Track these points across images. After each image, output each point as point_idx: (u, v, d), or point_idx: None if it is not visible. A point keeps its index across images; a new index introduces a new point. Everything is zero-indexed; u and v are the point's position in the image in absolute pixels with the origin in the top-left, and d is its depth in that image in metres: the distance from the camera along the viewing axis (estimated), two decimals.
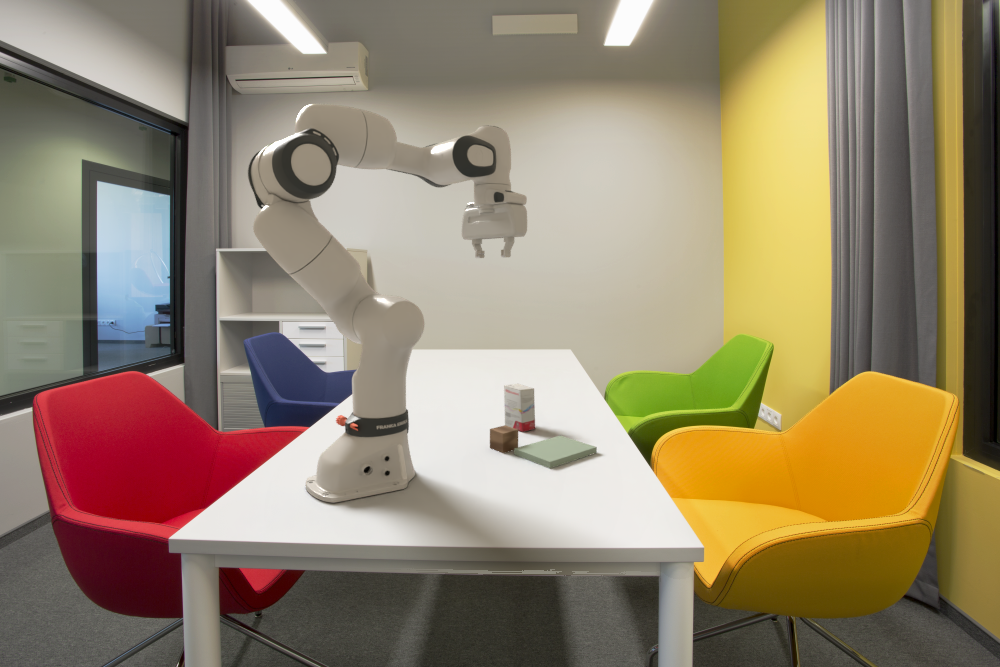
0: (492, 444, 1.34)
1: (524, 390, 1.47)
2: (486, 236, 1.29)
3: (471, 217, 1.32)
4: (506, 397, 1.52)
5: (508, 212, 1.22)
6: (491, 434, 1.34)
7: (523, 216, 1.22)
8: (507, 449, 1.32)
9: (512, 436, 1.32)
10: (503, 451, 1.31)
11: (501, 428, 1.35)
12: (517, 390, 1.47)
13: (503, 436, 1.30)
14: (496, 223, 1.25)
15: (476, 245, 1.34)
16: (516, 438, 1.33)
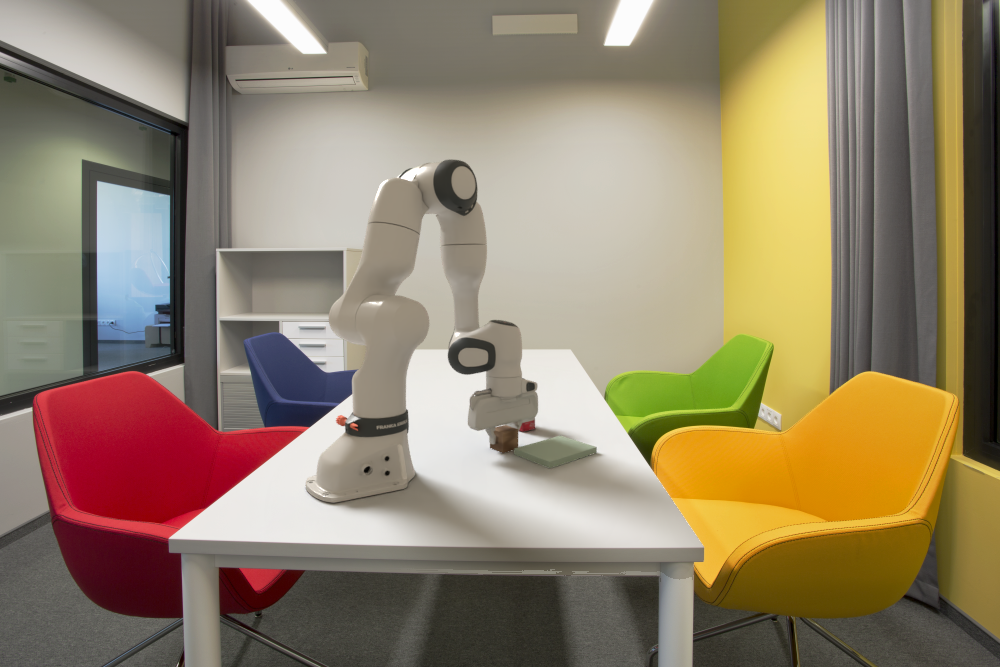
0: (492, 444, 1.34)
1: None
2: (507, 422, 1.32)
3: (488, 407, 1.28)
4: None
5: (531, 398, 1.36)
6: None
7: None
8: (507, 449, 1.32)
9: (512, 436, 1.32)
10: (503, 451, 1.31)
11: (502, 427, 1.35)
12: None
13: (503, 436, 1.30)
14: (519, 409, 1.34)
15: None
16: (516, 438, 1.33)
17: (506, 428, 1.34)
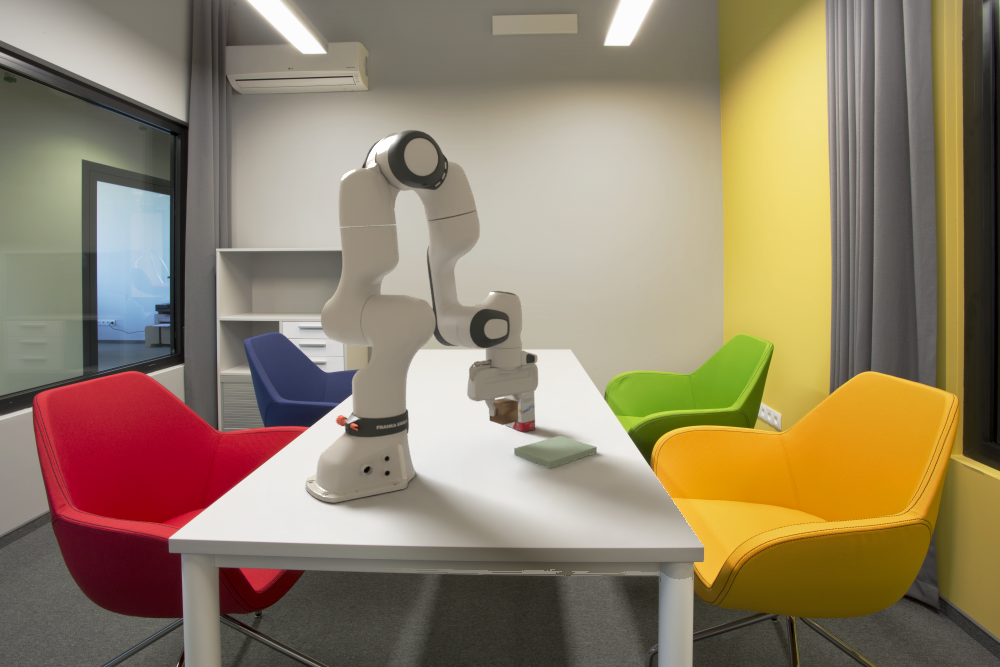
0: (491, 416, 1.33)
1: None
2: (507, 394, 1.31)
3: (488, 377, 1.27)
4: (506, 397, 1.52)
5: (531, 370, 1.35)
6: None
7: None
8: (507, 421, 1.31)
9: (512, 408, 1.31)
10: (503, 422, 1.30)
11: (501, 400, 1.34)
12: None
13: (503, 407, 1.29)
14: (519, 381, 1.33)
15: None
16: (516, 410, 1.32)
17: (506, 400, 1.33)
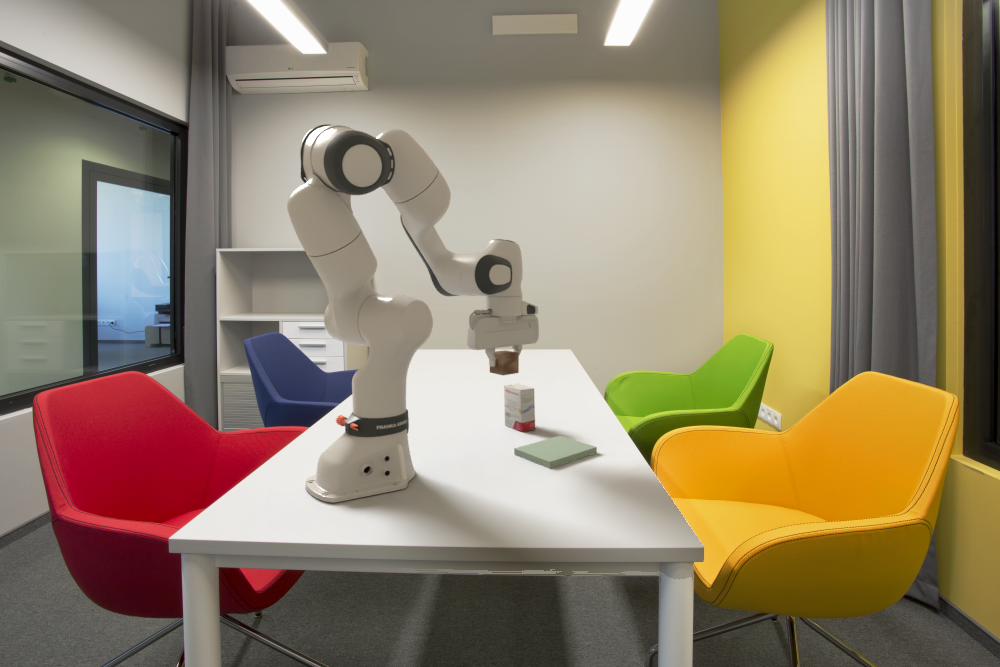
0: (492, 368, 1.31)
1: (524, 390, 1.47)
2: (507, 345, 1.30)
3: (488, 326, 1.26)
4: (506, 397, 1.52)
5: (532, 322, 1.34)
6: None
7: None
8: (507, 371, 1.29)
9: (512, 358, 1.30)
10: (503, 373, 1.29)
11: (501, 351, 1.32)
12: (517, 390, 1.47)
13: (503, 357, 1.28)
14: (519, 333, 1.32)
15: None
16: (516, 361, 1.31)
17: (506, 352, 1.32)
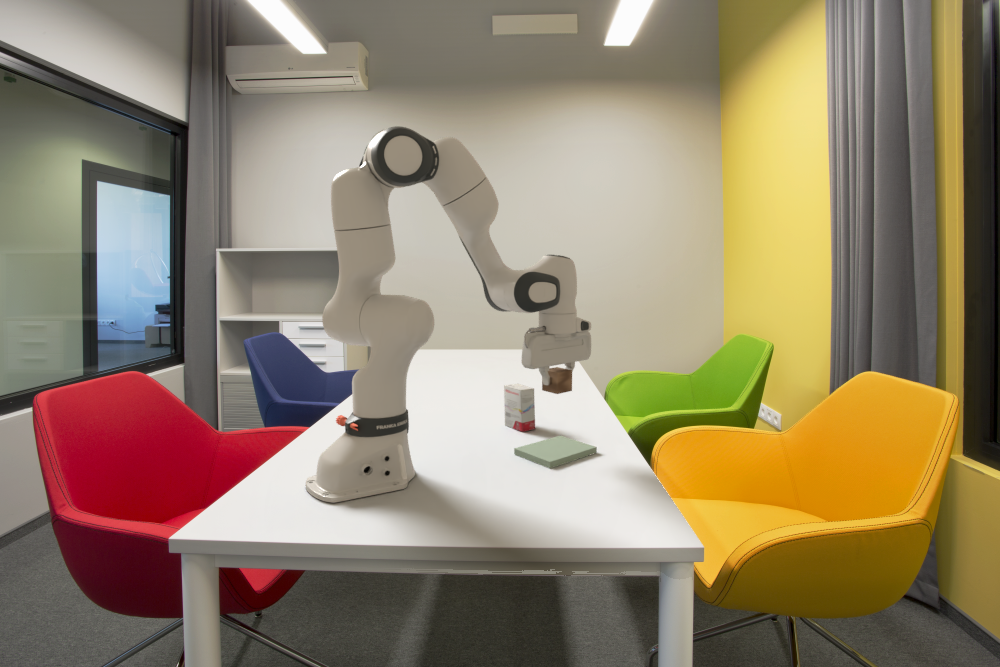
0: (544, 386, 1.28)
1: (524, 390, 1.47)
2: (561, 363, 1.26)
3: (543, 344, 1.22)
4: (506, 397, 1.52)
5: (585, 338, 1.30)
6: None
7: None
8: (561, 390, 1.26)
9: (566, 376, 1.27)
10: (557, 391, 1.25)
11: (554, 369, 1.29)
12: (517, 390, 1.47)
13: (558, 376, 1.25)
14: (573, 350, 1.28)
15: None
16: (570, 379, 1.27)
17: (559, 369, 1.28)
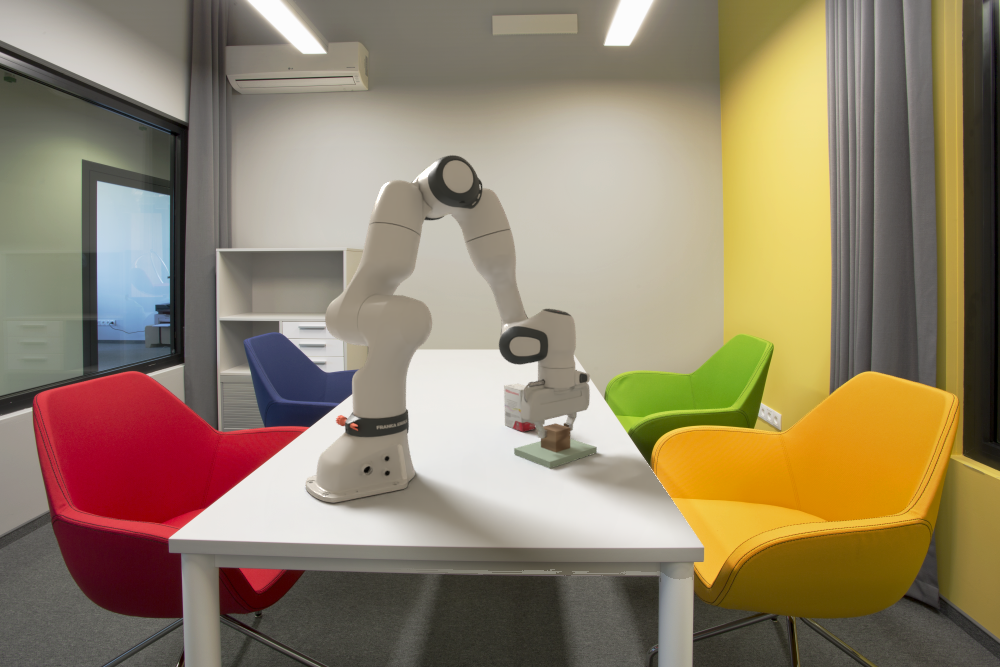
0: (543, 443, 1.30)
1: None
2: (560, 415, 1.28)
3: (542, 398, 1.24)
4: (506, 397, 1.52)
5: (583, 390, 1.32)
6: None
7: None
8: (560, 448, 1.28)
9: (565, 434, 1.28)
10: (556, 450, 1.27)
11: (553, 426, 1.31)
12: (517, 390, 1.47)
13: (556, 434, 1.26)
14: (571, 401, 1.30)
15: None
16: (568, 436, 1.29)
17: (558, 426, 1.30)
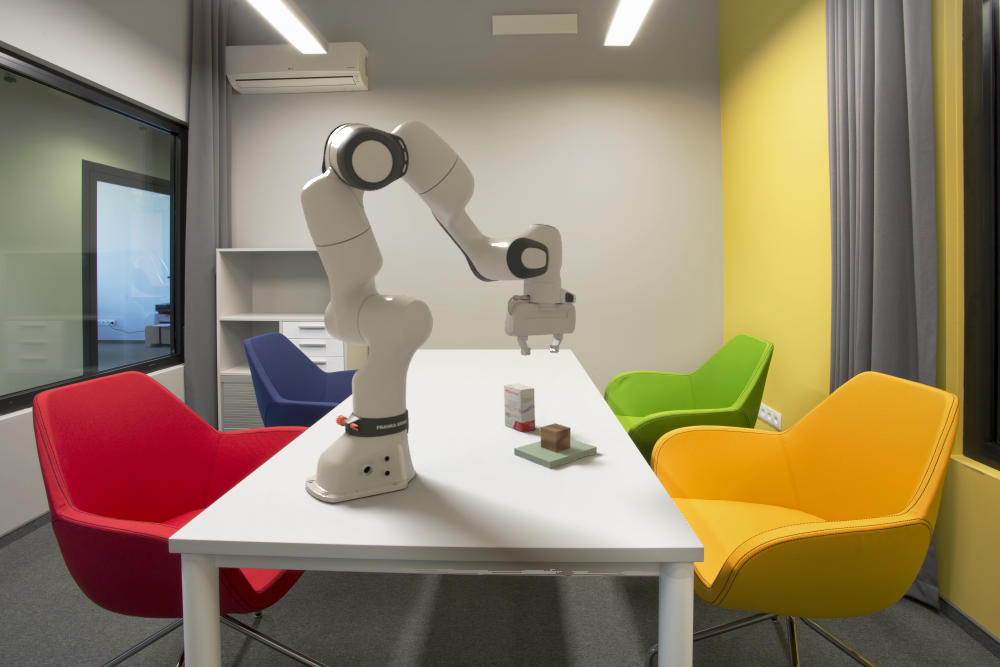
0: (543, 443, 1.30)
1: (524, 390, 1.47)
2: (545, 333, 1.26)
3: (526, 312, 1.22)
4: (506, 397, 1.52)
5: (569, 311, 1.30)
6: (542, 432, 1.30)
7: None
8: (560, 448, 1.28)
9: (565, 434, 1.28)
10: (556, 450, 1.27)
11: (553, 426, 1.31)
12: (517, 390, 1.47)
13: (556, 434, 1.26)
14: (557, 321, 1.28)
15: None
16: (568, 436, 1.29)
17: (558, 426, 1.30)
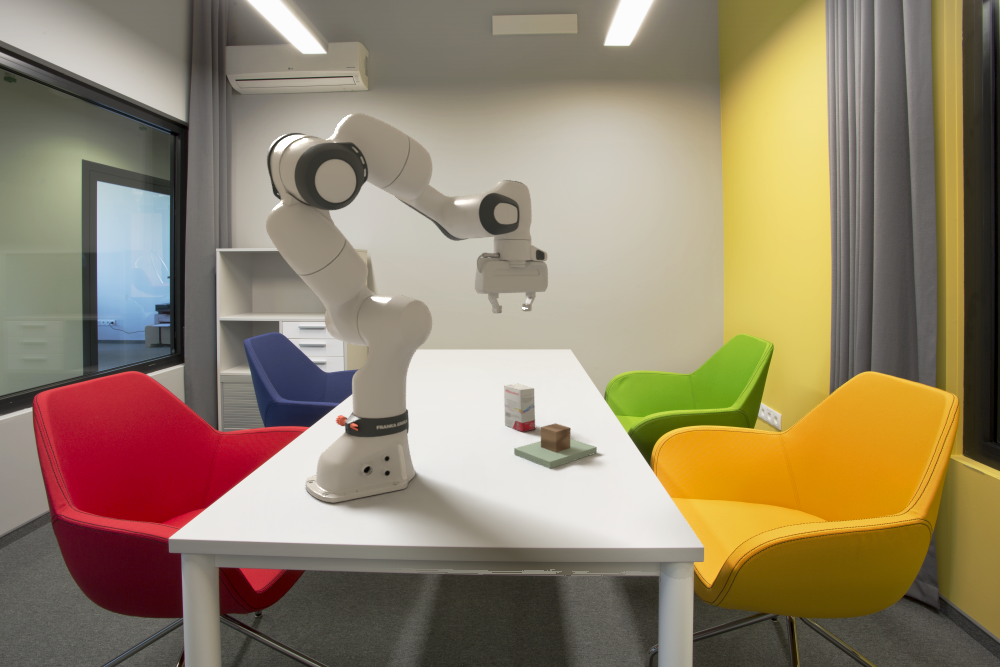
0: (543, 443, 1.30)
1: (524, 390, 1.47)
2: (516, 291, 1.26)
3: (496, 270, 1.22)
4: (506, 397, 1.52)
5: (541, 269, 1.30)
6: (542, 432, 1.30)
7: None
8: (560, 448, 1.28)
9: (565, 434, 1.28)
10: (556, 450, 1.27)
11: (553, 426, 1.31)
12: (517, 390, 1.47)
13: (556, 434, 1.26)
14: (528, 279, 1.28)
15: None
16: (568, 436, 1.29)
17: (558, 426, 1.30)
